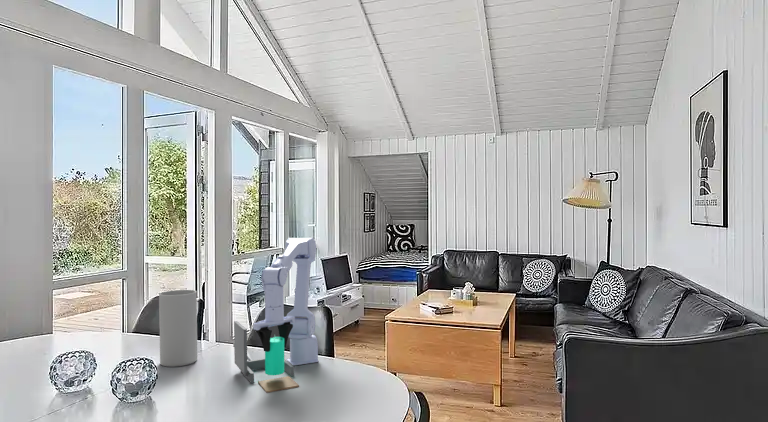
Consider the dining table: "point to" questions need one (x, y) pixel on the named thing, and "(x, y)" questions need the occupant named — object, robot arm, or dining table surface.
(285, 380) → the tan pad
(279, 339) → the candle
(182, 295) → the cylinder vase
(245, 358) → the grey bracket
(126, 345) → the dining table surface
